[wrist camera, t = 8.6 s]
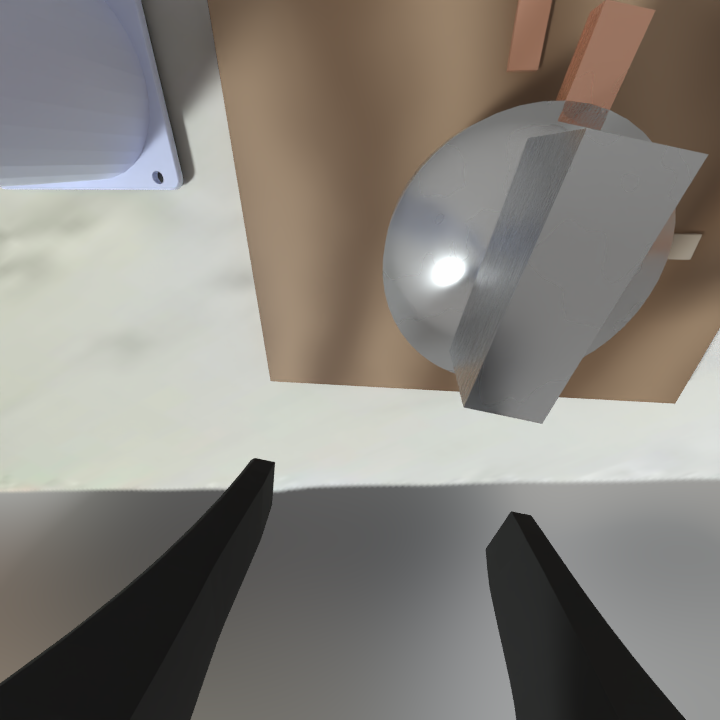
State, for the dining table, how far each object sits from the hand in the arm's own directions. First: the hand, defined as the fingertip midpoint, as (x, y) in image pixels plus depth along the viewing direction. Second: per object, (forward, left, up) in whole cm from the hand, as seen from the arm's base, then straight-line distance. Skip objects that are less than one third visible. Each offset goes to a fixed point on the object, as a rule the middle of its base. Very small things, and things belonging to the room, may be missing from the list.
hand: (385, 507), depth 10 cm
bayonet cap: (+4, +7, -7) cm, 11 cm away
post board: (+4, +6, -10) cm, 13 cm away
